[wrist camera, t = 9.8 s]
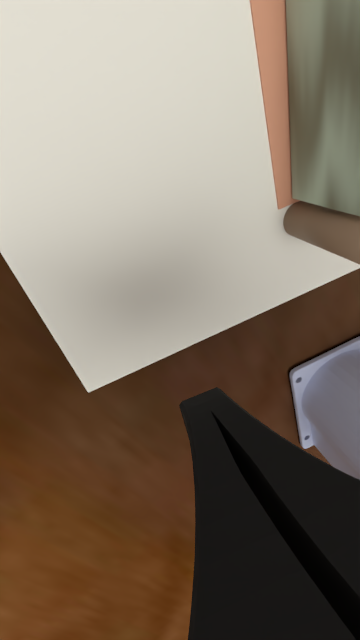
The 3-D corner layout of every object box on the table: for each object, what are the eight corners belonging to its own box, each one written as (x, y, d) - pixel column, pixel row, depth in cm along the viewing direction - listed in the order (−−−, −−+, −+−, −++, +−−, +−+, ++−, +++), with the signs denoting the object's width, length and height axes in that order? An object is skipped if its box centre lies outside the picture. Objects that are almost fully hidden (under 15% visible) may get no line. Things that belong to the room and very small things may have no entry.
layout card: (473, 211, 24) (578, 230, 19) (87, 388, 21) (99, 466, 16) (550, -216, 14) (804, -394, 10) (-165, -18, 11) (-337, -139, 6)
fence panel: (311, 192, 19) (385, 209, 15) (289, 199, 19) (358, 218, 14) (310, -89, 13) (429, -190, 9) (278, -84, 13) (385, -186, 9)
